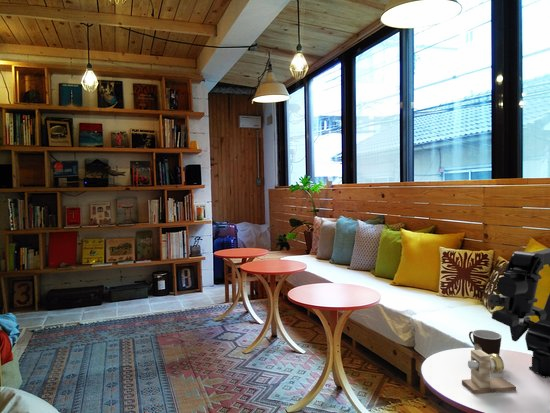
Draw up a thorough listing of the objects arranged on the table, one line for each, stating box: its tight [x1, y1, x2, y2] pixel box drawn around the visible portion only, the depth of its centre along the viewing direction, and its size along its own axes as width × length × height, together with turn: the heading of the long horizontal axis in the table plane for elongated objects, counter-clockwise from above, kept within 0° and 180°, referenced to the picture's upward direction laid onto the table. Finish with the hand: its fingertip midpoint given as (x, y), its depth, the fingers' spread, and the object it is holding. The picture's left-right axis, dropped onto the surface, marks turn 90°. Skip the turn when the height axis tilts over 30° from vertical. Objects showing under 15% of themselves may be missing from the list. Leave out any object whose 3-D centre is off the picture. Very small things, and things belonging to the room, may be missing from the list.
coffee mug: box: [468, 329, 502, 356], centre depth 130 cm, size 12×9×10 cm
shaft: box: [467, 354, 505, 374], centre depth 113 cm, size 9×5×5 cm, turn 96°
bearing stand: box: [461, 349, 517, 395], centre depth 113 cm, size 13×6×10 cm, turn 96°
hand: (514, 340), depth 118 cm, fingers closed
